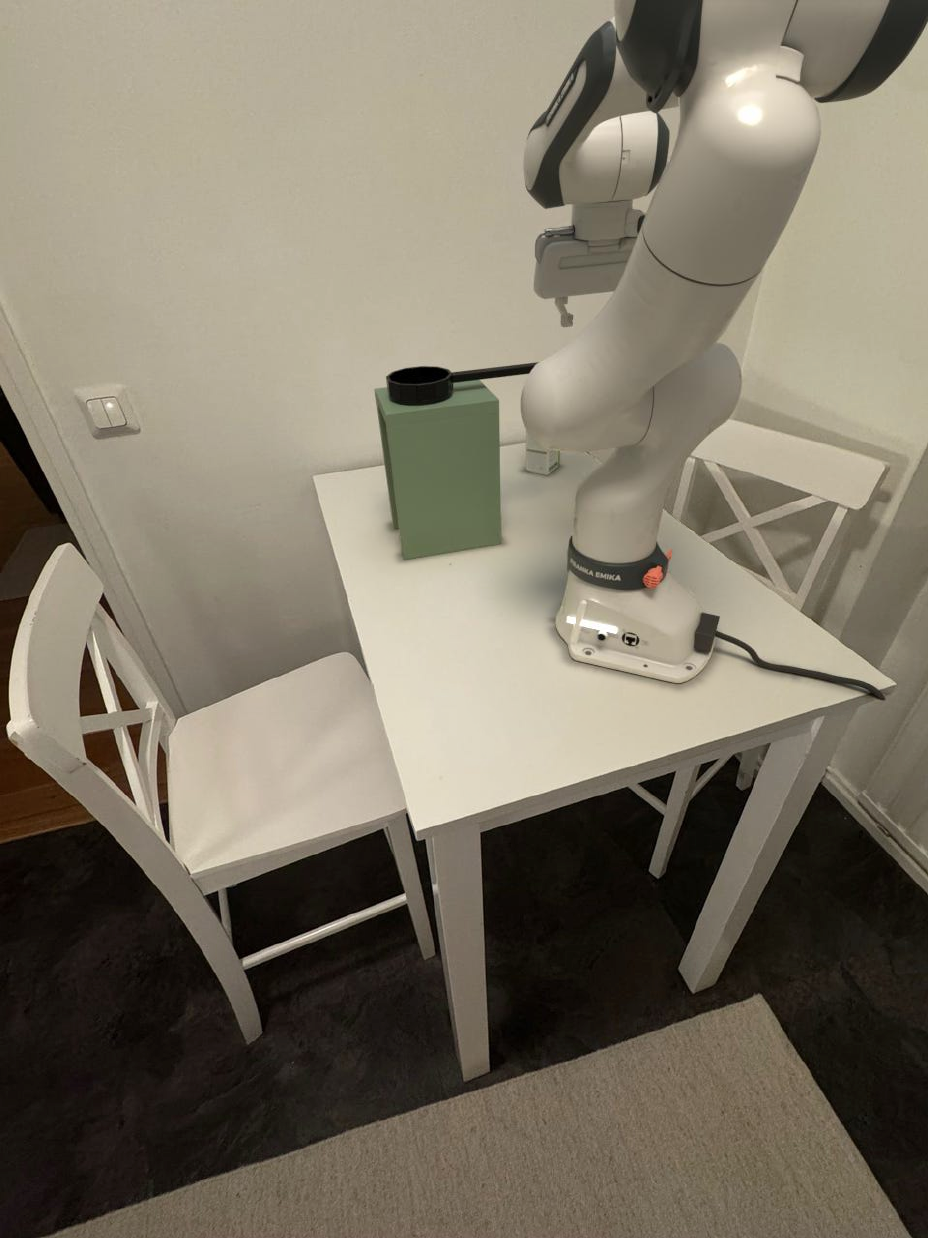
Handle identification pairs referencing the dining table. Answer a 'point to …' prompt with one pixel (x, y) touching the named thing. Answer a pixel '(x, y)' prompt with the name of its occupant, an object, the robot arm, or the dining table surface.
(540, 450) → the syrup box
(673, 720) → the dining table surface
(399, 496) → the green hollow pedestal
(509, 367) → the pan
